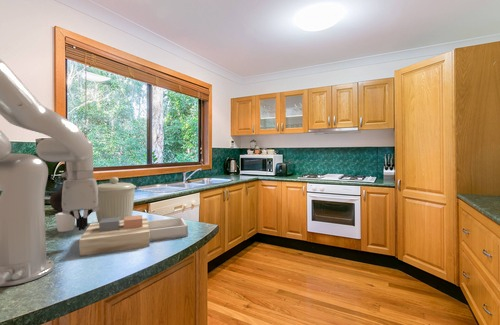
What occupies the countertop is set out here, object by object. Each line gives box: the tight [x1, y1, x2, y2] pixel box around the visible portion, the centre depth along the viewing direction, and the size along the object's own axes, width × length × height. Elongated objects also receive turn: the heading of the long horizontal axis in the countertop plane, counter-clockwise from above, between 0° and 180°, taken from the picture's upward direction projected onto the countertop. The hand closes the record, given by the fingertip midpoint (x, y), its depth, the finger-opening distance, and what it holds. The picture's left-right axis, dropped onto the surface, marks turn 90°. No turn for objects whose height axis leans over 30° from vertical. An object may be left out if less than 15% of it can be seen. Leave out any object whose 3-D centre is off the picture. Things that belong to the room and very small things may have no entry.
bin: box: [148, 217, 189, 242], centre depth 100 cm, size 14×14×4 cm
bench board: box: [78, 217, 150, 257], centre depth 91 cm, size 20×20×5 cm
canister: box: [95, 176, 137, 223], centre depth 114 cm, size 18×18×21 cm
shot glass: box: [55, 212, 76, 233], centre depth 105 cm, size 7×7×7 cm
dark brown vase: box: [49, 162, 67, 213], centre depth 140 cm, size 18×18×28 cm
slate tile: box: [99, 217, 120, 232], centre depth 90 cm, size 6×6×3 cm
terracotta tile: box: [124, 214, 143, 229], centre depth 93 cm, size 6×6×3 cm
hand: (82, 229), depth 86 cm, fingers closed
